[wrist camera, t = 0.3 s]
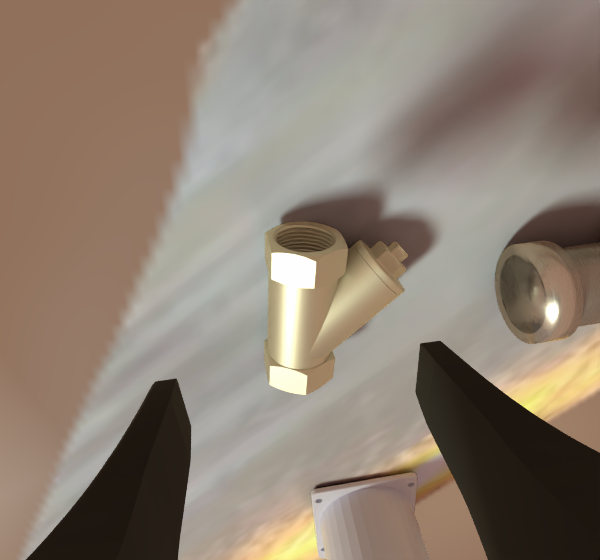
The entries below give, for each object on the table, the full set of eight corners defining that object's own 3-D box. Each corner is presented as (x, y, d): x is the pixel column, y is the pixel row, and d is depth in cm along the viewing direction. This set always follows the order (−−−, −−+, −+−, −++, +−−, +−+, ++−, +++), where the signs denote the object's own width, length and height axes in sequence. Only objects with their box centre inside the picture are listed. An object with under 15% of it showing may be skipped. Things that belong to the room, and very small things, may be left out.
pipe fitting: (394, 215, 22) (262, 221, 21) (429, 251, 19) (275, 261, 18) (373, 338, 27) (261, 349, 25) (398, 385, 23) (272, 401, 22)
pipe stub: (653, 201, 23) (746, 245, 19) (621, 289, 26) (695, 344, 22) (504, 222, 23) (566, 272, 19) (488, 309, 26) (538, 369, 22)
